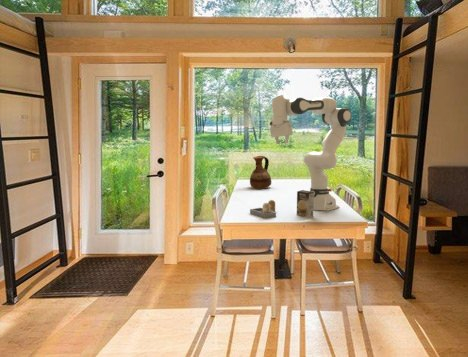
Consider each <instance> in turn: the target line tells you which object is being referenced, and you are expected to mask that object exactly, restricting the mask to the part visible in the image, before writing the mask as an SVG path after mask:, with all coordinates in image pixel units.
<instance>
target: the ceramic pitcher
mask: <svg viewBox="0 0 468 357" xmlns="http://www.w3.org/2000/svg"><path fill="white" fill-rule="evenodd" d="M252 159H253V160H254V161H255V169H253V171H252V173H251V174H250V177H249V185H250V187H252V188H253V189H265V188H268V187H270V186H272V177H271V175H270V173H269V171H268V169H269V165H270V161H269V158H268V157H266V156H265V155H257V156H253V157H252ZM263 160H264V167H263Z"/></svg>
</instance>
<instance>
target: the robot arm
mask: <svg viewBox="0 0 468 357" xmlns="http://www.w3.org/2000/svg"><path fill="white" fill-rule="evenodd" d="M337 105H338V104H337V101H336V100H335V98H333V97H327V96H322V97H315V98H313V99H306V98H304V97H296V98H294V99H288V98H287V97H286V96H285V95H284V94H281V95H278V96H274V97H273V98H272V101H271V108H272V114H273V116H272V120H271V121H269V126H270V127H269V130H270V131H269V132H270V136H271V138H274V140H275V142H276V145H279V144H281V141H280V140H279V139H280V137H284V138H285V140H284V144H289V139H290V136H292V135H293V126H292V123H291V121H290V120H288V117H292V116H297V115H303V114H305V113H307V112H309V111H311V113H312V114H315V115H321V120H322V122H323V123H324V124H325V125H331V127H330V129H329V130H328V131H327V134H326V135H325V137H324V138H323V140H322V141H321V147H322V150H321V151H310V152H306V154H305V155H304V158H303V160H304V164H305V165H306V166H307V168H308V170H309V174H310V188H309V191H311V192H314V210H315V211H332V210H336V209H339V208H340V205H338V204H337V200H336V198H335V197H334V196H332V194H330V192H332V191H333V190H332V188H330V187H329V188H328V183H329V182H328V179H329V178H328V175H327V174H326V173H325V171H324V170H329V169H330V170H331V169H333V168H335V167H336V165H337V163H338V162H337V161H338V160H337V157H336V152H337V150H338V148H339V146H340V145H341V143H342V142H343V139H344V138H345V135H346V133H347V126H348V125H349V123H350V121H351V119H352V112H351V110H350V109H349V108H345V107H342V108H341V107H339V108H338V107H337ZM314 210H313V211H314Z"/></svg>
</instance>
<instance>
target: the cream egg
mask: <svg viewBox="0 0 468 357" xmlns="http://www.w3.org/2000/svg"><path fill="white" fill-rule="evenodd" d="M262 208H263V213H265V214H266V213H270V204H268V202H265V203H263V204H262Z"/></svg>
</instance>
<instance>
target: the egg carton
mask: <svg viewBox="0 0 468 357" xmlns="http://www.w3.org/2000/svg"><path fill="white" fill-rule="evenodd" d="M249 213H250V214H251V215H254V216H257V217H260V218H263V219H269V218H276V217H277V212H276V211H275V212H273V211H270V213H266V214H265V213H263V207H257V208H256V207H255V208H249Z"/></svg>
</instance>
